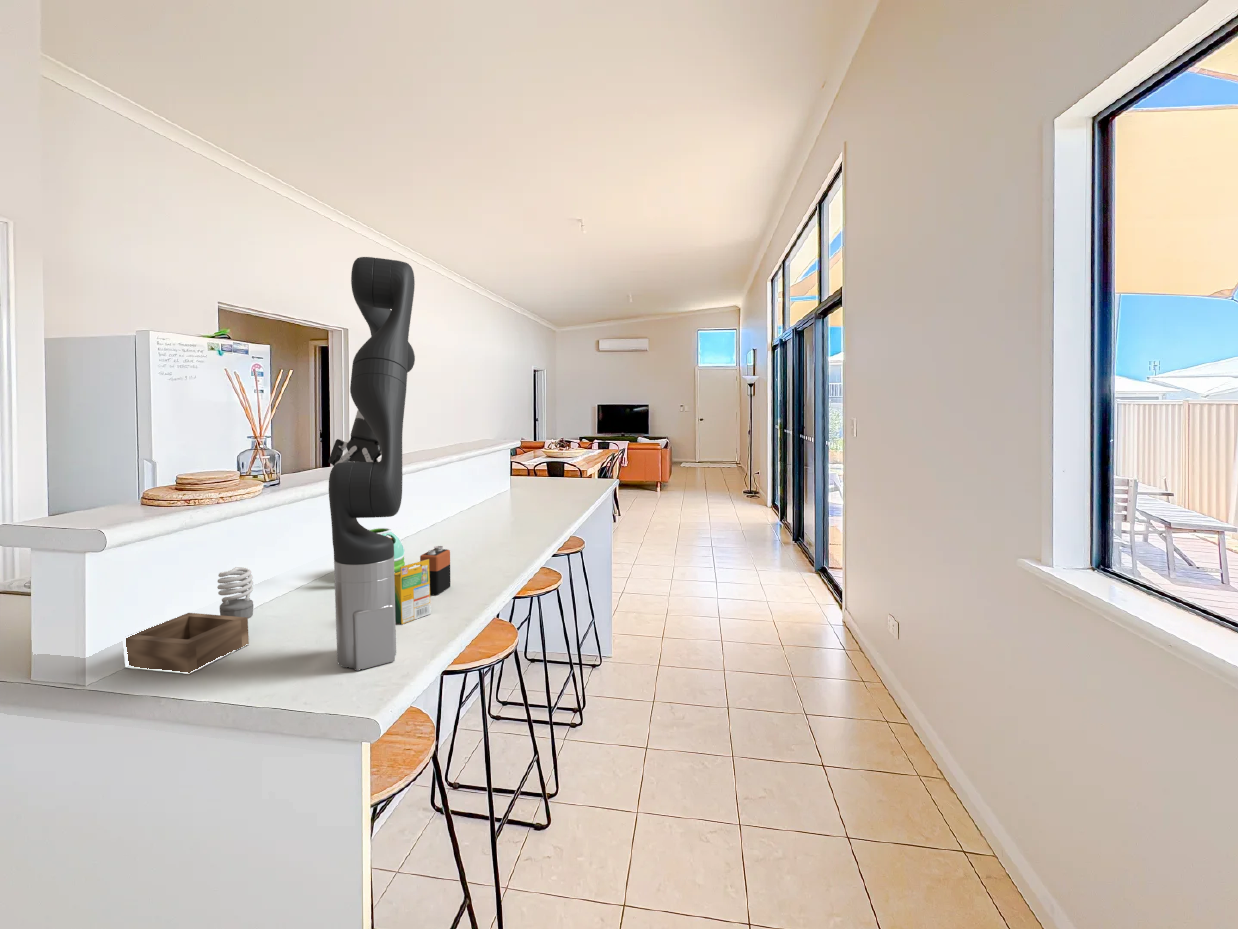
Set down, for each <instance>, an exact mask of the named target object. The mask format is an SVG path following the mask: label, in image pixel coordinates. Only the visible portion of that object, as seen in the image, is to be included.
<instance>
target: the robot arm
mask: <svg viewBox="0 0 1238 929" xmlns="http://www.w3.org/2000/svg"><path fill="white" fill-rule="evenodd" d="M352 263H353V264H352V268H351V273H350V274H351V277H350V284H351V292H352V295H353V298H354V301H355V303H356V305H357V308H358V310H359V311H360V313H361V315H362V317H363V319H364V321H365V322H366V324H367V325H368V329H369V331H370V337H369V338H368V339H367V340H366V342H365V343H364V344H362V346H361V347H360V348H359V349H358V350H357V352H356V353H355V356H354V357H353V360H352V367H351V375H350V376H351V379H350V385H349V387H350V388H349V392H350V396H351V399H352V401H353V404H354V406H356V409H357V411H356V414H355V419H354V421H353V423H352V424H353V425H352V428H351V431H350V439H349V441H348V442H347V441H344V440H342V439H340V438H337V439H336V440H335V441H334V444H333V447H332V449H331V453H330V456H329V459H328V463H329V464H331V465H332V469H331V470H330V473H329V478H328V500H329V509H330V511H329V512H330V519H331V520H330V521H331V534H332V537H331V538H332V548H333V565H334V566H333V568H334V569H333V571H334V572H333V573H334V575H333V576H334V599H335V600H334V602H335V603H334V605H335V606H334V608H335V635H336V636H335V637H336V638H335V639H336V657H337V658H336V659H337V660H336V661H337V664H338V663H339V664H338V665H339V666H341V667H343V666H344V668H347V667H349V668H348V669H354V670H355V669H356V670H355V671H360V670H359V669H362V670H364V669H369V668H373V667H376V666H380V665H381V666H382V665H384V664H388V663H391V662H392V663H393V662H394V661H396V655H397V629H396V628H397V627H396V626H397V625H396V624H397V623H396V621H395V579H394V543H393V541H392V540H391V539H390V538H391V537H390V536H388V535H387V536H384V535H381V534H377V533H374V532H372V531H370V530H369V528H366V527H364V526H363V525H362V524H360V523H359V521H358V519H362V518H363V519H367V518H368V519H369V518H370V519H371V518H373V519H374V518H389V517H390V518H391V517H393V516H395V515H397V514H398V513H399V511H400V508H401V504H402V500H403V499H402V498H403V429H404V416H405V407H406V406H405V404H406V396H407V382H408V373H409V372H411V371H412V369H413V368H414V365H415V361H416V355H415V351H414V349H413V346H412V344H410V342H409V336H410V334H409V332H410V326H411V318H412V317H411V316H412V311H413V306H414V304H413V303H414V297H415V296H414V294H415V285H416V284H415V282H416V281H415V273H414V270H413V268H412V266H411V265H410V264H409V263H407V262H406V261H401V260H395V259H388V258H380V257H373V256H359V257H357V258H355V260H354V261H353V262H352ZM346 450H347V451H346ZM344 451H346V453H344ZM343 453H344V454H343ZM380 456H381V458H380V461H378V460H379V457H380Z"/></svg>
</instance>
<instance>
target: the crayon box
mask: <svg viewBox="0 0 1238 929" xmlns="http://www.w3.org/2000/svg"><path fill="white" fill-rule="evenodd" d="M420 565H421V566H420ZM414 566H416V567H414ZM394 579H395V621H396V624H397V625H398V624H399V625H404V624H406V623H409V622H412V621H415V620H417V619H421V618H423V617H426V616H430V615H431V614H432V611H431V608H432V607H431V595H430V576H429V559H427V560H424V561H420V560H419V561H416V562H413V563H408V564H405V565H404V566H401V567H400V572H398V573H394Z"/></svg>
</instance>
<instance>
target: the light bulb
mask: <svg viewBox="0 0 1238 929" xmlns="http://www.w3.org/2000/svg"><path fill="white" fill-rule="evenodd" d="M218 577H219V578H218V579H217V583H218V585H217V590H219V591H218V592H217V593H218V595H219V596H225V597H222V598H221V602H222V603H221V604H220V605H219V613H220V615H223V616H235V617H247V618H248V620H249V619H251V618H252V617H253V616H254V601H253V600H252V599H251V598H250V596H251V593H252V592H253V590H254V588H253V585H254V580H253V579H254V577H253V575H252V570H251V569H249V568H248V567H247V568H246V567H237V566H235V567H233V568H232V569H230V570H228V571H222V572H219V573H218ZM235 594H236V595H235ZM230 595H232V596H230ZM244 597H245V598H244Z"/></svg>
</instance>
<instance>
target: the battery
mask: <svg viewBox="0 0 1238 929" xmlns="http://www.w3.org/2000/svg"><path fill="white" fill-rule="evenodd" d="M427 559H429V576H430V596H438V595H440V594H441V593H443V592H445V591H446V590H448V589H449V588H451V550H449V549H446V548H445V549H444V546H443V545H437V546H436V545H435V546H434V547H433V549H431V550H428V551H427V552H425V553H423V554H421V555H420V556H419V562H420V561H424V560H427ZM419 566H421V565H419ZM444 590H445V591H444Z"/></svg>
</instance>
